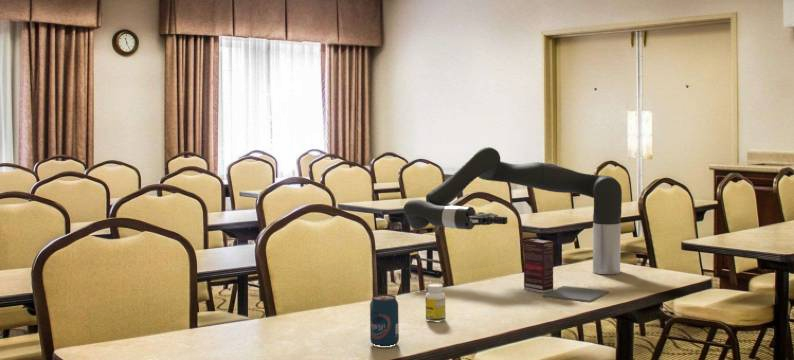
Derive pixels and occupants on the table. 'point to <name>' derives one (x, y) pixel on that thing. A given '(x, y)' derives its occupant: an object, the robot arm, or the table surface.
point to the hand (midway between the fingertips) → (506, 220)
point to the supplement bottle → (435, 303)
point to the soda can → (384, 320)
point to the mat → (576, 293)
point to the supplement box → (538, 265)
